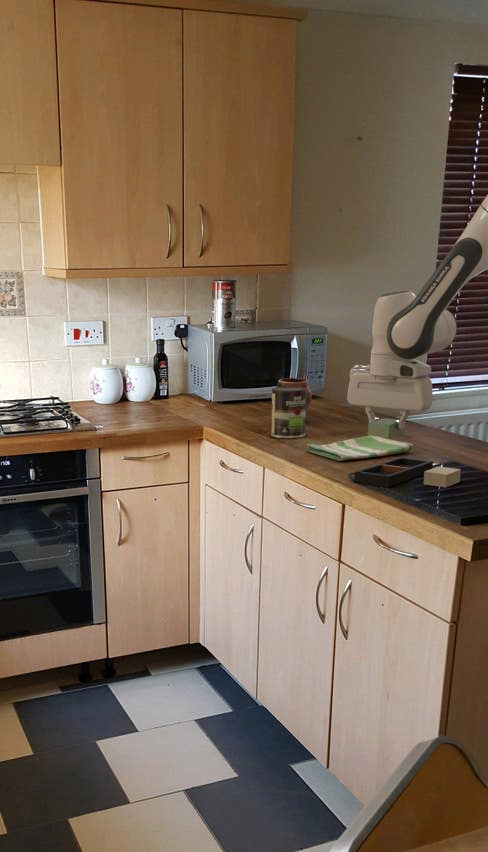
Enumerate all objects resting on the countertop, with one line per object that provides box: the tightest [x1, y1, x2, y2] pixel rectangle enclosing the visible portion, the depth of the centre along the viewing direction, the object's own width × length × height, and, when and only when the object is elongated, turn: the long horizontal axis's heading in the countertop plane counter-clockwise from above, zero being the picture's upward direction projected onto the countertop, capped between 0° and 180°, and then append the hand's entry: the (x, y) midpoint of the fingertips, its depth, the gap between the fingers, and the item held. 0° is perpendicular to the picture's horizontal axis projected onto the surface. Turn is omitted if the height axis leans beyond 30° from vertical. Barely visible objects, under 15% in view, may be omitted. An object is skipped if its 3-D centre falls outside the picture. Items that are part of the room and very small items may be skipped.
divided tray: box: [353, 456, 434, 488], centre depth 210 cm, size 9×21×2 cm, turn 136°
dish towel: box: [306, 435, 414, 462], centre depth 238 cm, size 18×23×3 cm
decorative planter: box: [276, 377, 312, 417], centre depth 285 cm, size 20×12×14 cm, turn 10°
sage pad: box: [367, 417, 405, 439], centre depth 203 cm, size 6×7×3 cm
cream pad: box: [423, 465, 462, 489], centre depth 202 cm, size 6×7×3 cm
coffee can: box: [270, 386, 307, 439], centre depth 263 cm, size 10×10×14 cm
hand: (386, 427), depth 203 cm, fingers closed on sage pad, 5 cm apart
